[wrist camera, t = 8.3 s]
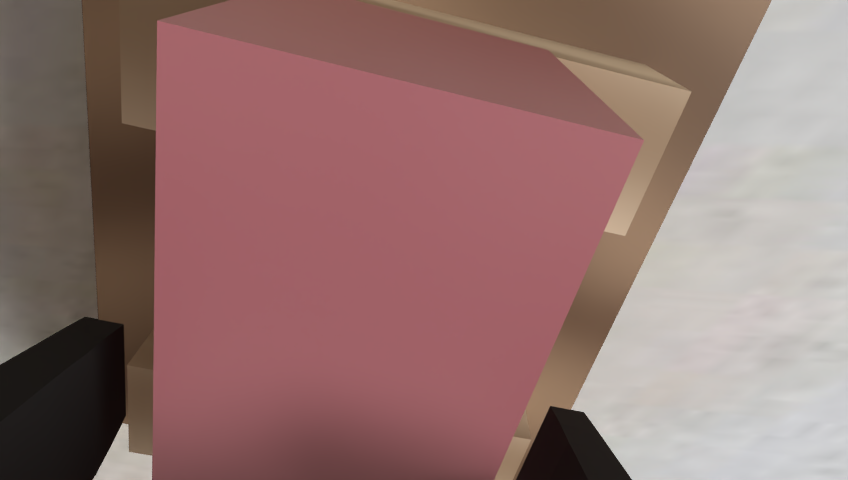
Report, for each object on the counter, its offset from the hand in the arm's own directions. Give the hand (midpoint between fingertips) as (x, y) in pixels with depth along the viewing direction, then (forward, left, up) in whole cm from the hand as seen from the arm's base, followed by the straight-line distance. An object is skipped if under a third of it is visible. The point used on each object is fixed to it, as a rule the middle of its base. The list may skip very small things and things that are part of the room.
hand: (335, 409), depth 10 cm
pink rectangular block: (0, 0, -3) cm, 3 cm away
